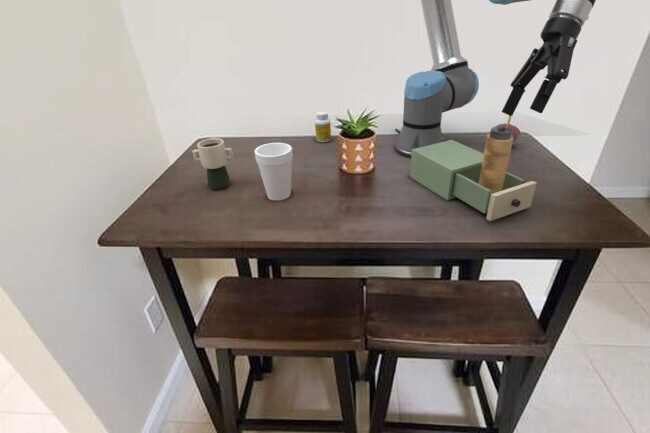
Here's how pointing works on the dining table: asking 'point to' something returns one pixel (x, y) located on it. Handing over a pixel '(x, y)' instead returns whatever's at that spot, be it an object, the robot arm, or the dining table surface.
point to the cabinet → (442, 165)
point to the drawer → (502, 202)
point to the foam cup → (275, 169)
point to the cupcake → (514, 129)
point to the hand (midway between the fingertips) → (520, 112)
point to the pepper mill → (496, 158)
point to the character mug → (214, 161)
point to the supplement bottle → (323, 127)
